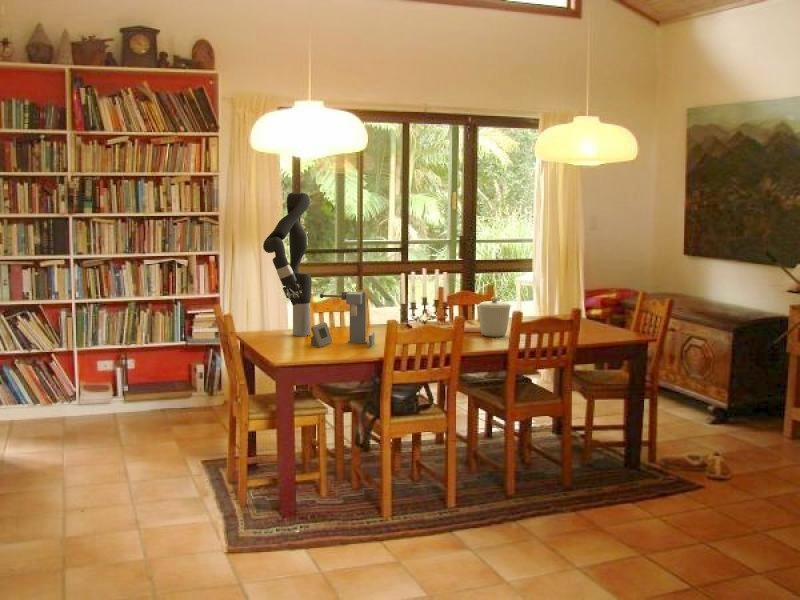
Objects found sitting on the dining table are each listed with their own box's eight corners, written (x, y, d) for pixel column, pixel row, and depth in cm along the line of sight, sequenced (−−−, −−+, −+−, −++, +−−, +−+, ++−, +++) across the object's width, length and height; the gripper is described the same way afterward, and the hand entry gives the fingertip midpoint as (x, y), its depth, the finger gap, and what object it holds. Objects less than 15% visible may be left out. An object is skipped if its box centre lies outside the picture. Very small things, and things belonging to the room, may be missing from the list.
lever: (320, 297, 436) (320, 293, 436) (347, 298, 435) (347, 293, 434) (319, 298, 433) (319, 293, 433) (346, 298, 432) (346, 294, 432)
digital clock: (319, 348, 422) (319, 326, 421) (304, 346, 427) (304, 325, 425) (337, 343, 436) (337, 322, 435) (322, 341, 441) (322, 321, 439)
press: (342, 342, 440) (342, 291, 436) (375, 343, 438) (375, 292, 435) (337, 347, 426) (337, 294, 423) (371, 347, 425) (372, 295, 422)
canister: (499, 339, 452) (500, 299, 449) (470, 335, 462) (471, 296, 460) (516, 335, 466) (517, 296, 463) (488, 331, 477) (488, 293, 474)
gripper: (299, 270, 432) (312, 300, 435) (285, 273, 443) (297, 302, 446) (287, 276, 427) (300, 306, 431) (273, 279, 439) (286, 308, 442)
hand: (299, 304), depth 438 cm, fingers open, 8 cm apart
